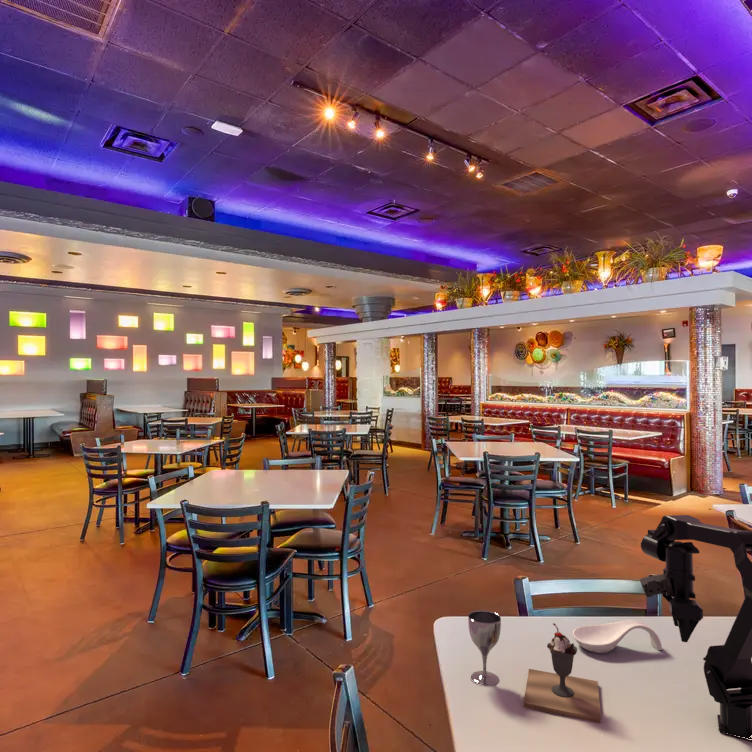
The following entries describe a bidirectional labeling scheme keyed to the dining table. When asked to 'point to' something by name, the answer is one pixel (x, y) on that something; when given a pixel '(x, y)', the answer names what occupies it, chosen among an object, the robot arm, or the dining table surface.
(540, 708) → the serving board
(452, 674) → the dining table surface
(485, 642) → the wine glass
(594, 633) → the spoon rest
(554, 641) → the sundae
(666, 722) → the dining table surface
